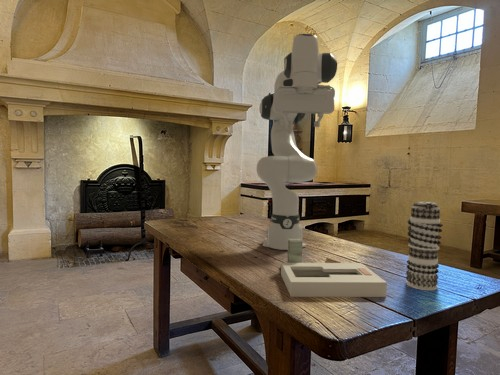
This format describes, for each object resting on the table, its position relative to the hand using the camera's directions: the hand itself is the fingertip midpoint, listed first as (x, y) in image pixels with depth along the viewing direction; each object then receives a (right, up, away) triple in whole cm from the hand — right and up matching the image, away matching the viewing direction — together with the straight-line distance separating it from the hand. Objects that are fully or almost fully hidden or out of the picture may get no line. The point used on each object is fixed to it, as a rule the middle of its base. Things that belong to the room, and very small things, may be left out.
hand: (302, 126), depth 112 cm
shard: (+11, -49, +6) cm, 50 cm away
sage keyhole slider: (-3, -48, 0) cm, 48 cm away
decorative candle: (+34, -50, -11) cm, 61 cm away
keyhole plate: (+6, -49, -13) cm, 51 cm away
